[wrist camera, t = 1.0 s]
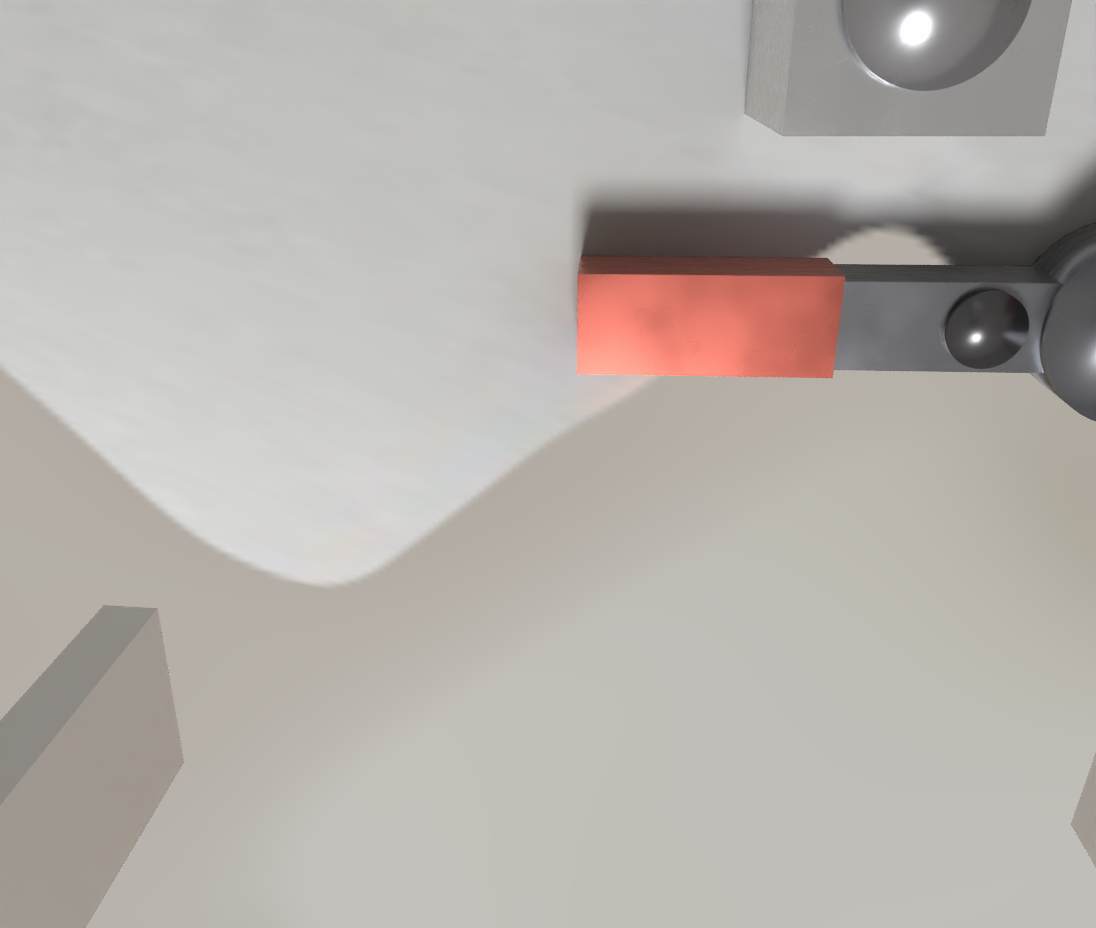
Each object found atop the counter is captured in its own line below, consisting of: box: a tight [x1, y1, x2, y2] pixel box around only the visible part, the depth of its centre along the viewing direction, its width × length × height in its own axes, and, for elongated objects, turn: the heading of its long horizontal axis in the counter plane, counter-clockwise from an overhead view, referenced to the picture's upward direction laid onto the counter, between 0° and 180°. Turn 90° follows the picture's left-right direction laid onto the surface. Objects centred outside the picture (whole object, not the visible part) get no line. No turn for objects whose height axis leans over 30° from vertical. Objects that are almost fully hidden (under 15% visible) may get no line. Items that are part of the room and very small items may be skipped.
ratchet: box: [577, 223, 1096, 421], centre depth 28 cm, size 6×20×6 cm, turn 90°
